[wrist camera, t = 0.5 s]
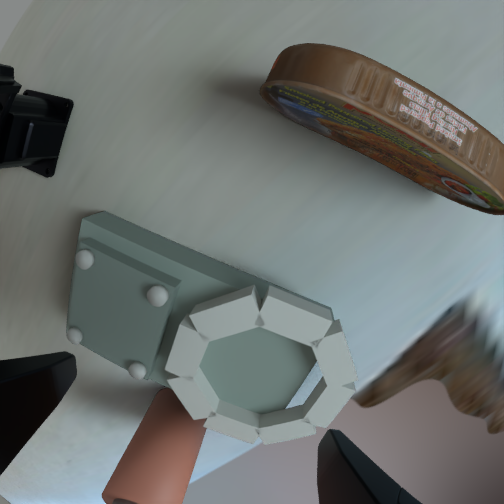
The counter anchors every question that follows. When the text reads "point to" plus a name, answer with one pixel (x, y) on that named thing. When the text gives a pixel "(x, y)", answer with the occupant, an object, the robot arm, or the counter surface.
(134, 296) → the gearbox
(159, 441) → the oil can
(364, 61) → the tin
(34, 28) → the counter surface
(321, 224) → the counter surface
